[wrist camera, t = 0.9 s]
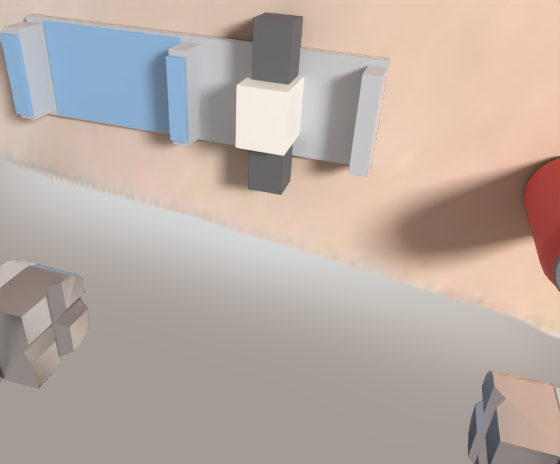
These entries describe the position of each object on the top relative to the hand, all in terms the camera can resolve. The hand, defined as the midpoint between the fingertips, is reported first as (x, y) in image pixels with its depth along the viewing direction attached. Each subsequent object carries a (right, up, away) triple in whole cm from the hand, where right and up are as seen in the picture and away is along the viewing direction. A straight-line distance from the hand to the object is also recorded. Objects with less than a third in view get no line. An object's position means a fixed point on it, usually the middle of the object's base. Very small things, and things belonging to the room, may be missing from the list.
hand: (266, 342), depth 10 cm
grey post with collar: (0, +13, +34) cm, 36 cm away
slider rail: (-7, +15, +36) cm, 40 cm away
